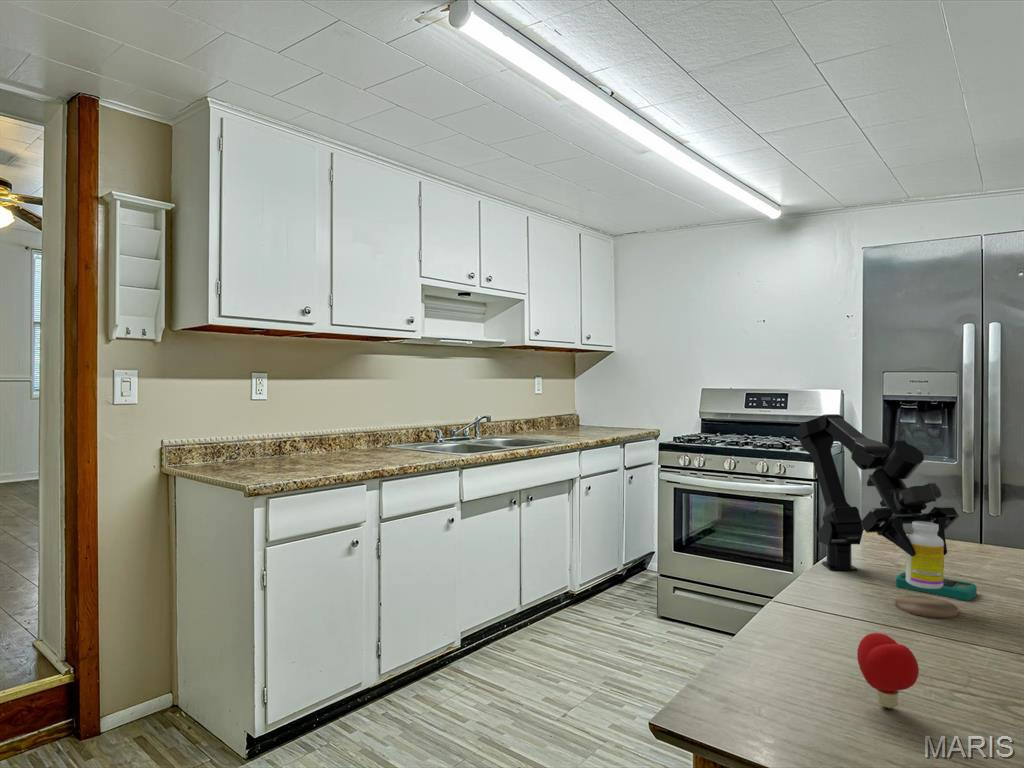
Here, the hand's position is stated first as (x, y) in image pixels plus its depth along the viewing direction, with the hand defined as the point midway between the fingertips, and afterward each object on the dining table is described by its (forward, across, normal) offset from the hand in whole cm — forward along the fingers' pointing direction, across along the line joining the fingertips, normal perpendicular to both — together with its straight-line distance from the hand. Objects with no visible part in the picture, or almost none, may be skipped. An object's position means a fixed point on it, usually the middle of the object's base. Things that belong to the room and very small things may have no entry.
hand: (929, 554), depth 134 cm
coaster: (+8, 0, +9) cm, 12 cm away
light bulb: (+34, -35, -18) cm, 52 cm away
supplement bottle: (+4, 0, +6) cm, 7 cm away
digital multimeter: (0, +11, +17) cm, 20 cm away
